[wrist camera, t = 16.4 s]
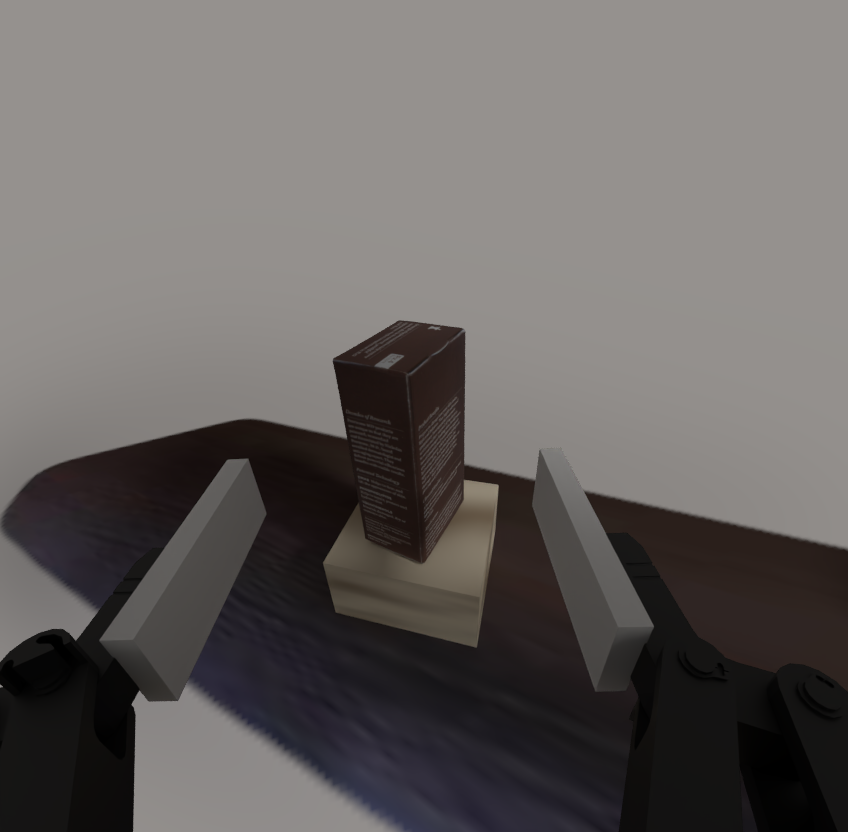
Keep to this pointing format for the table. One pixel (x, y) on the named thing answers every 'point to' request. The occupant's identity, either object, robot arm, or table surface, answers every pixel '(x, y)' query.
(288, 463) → the table surface
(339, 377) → the box
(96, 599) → the table surface
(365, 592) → the ash block
